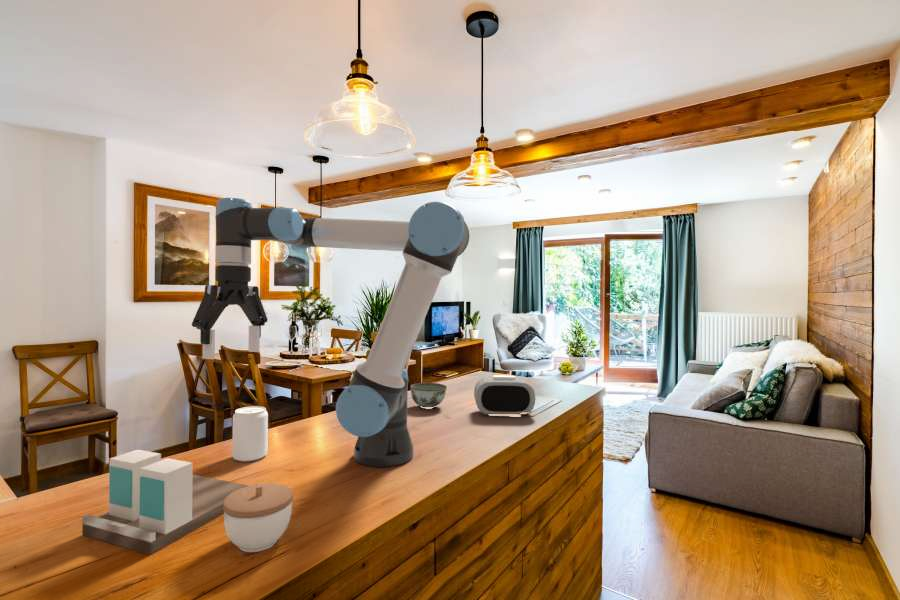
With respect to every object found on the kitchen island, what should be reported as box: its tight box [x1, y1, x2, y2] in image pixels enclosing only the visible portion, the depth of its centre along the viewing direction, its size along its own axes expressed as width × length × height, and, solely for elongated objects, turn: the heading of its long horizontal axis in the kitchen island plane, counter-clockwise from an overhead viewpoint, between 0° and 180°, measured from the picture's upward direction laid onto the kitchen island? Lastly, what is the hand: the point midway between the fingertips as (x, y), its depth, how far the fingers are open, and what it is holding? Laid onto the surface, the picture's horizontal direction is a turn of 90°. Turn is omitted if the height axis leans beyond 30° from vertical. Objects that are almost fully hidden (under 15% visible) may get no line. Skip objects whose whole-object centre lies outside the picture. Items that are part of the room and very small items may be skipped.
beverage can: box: [231, 405, 269, 462], centre depth 113 cm, size 8×8×12 cm
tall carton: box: [108, 449, 162, 521], centre depth 80 cm, size 5×6×10 cm
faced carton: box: [139, 457, 194, 534], centre depth 76 cm, size 5×6×10 cm
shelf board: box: [82, 474, 250, 556], centre depth 84 cm, size 16×22×3 cm
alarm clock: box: [473, 374, 536, 415], centre depth 158 cm, size 21×10×13 cm, turn 90°
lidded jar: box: [223, 482, 294, 553], centre depth 75 cm, size 11×11×9 cm
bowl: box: [409, 382, 447, 407], centre depth 165 cm, size 14×13×8 cm
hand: (232, 355), depth 106 cm, fingers open, 13 cm apart
